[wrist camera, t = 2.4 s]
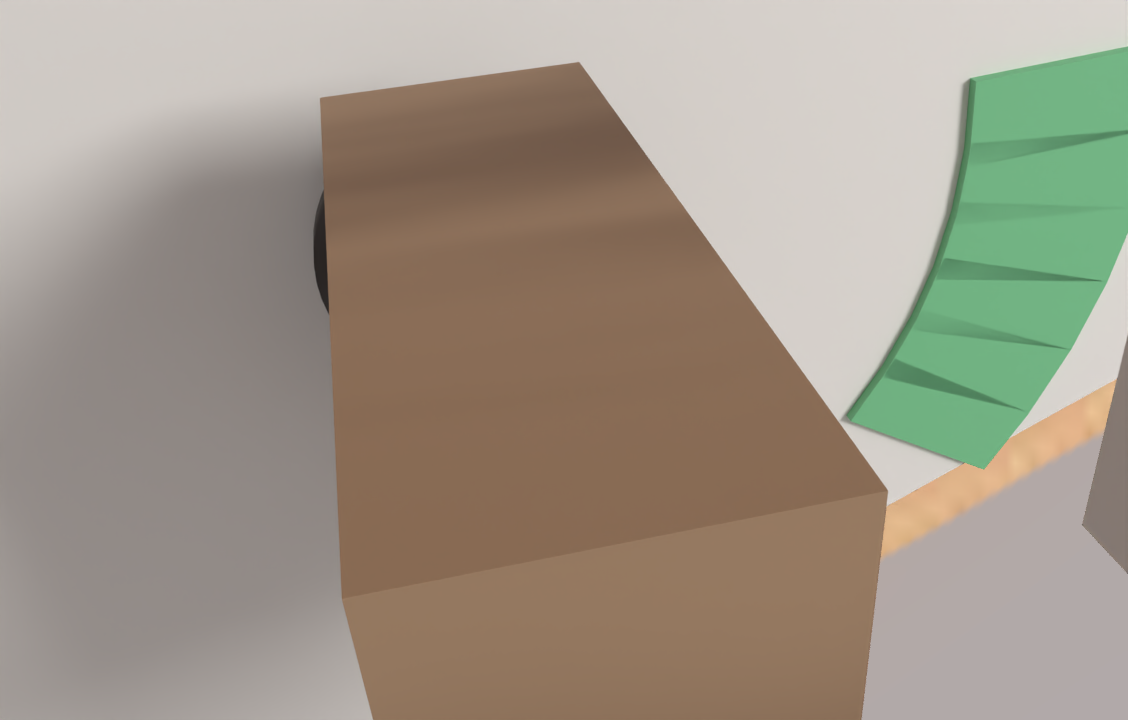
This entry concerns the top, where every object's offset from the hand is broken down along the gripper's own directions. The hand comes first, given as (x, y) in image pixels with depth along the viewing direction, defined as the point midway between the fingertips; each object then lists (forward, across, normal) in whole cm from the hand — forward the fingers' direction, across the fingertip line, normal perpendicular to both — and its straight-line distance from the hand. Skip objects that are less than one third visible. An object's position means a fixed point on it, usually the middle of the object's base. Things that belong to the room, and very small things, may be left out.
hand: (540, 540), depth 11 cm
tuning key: (+7, 0, -3) cm, 7 cm away
